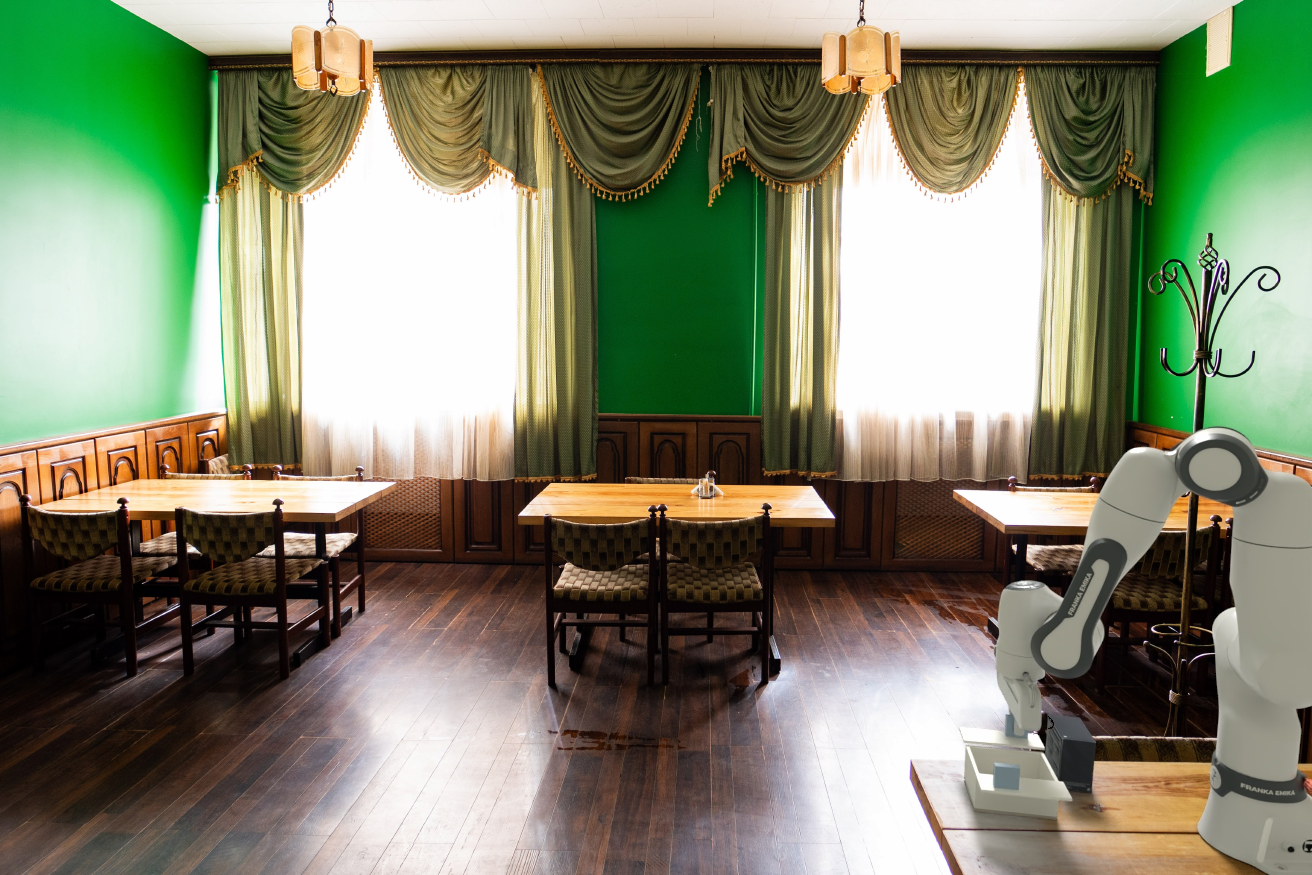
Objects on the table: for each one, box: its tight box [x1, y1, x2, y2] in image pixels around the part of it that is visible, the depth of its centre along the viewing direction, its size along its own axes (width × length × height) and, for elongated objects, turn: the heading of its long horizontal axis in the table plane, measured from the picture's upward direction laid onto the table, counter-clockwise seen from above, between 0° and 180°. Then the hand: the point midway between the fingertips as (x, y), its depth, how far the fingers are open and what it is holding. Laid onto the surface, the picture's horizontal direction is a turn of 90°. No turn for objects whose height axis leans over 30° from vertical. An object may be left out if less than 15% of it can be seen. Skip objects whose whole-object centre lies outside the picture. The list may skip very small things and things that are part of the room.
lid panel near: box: [975, 763, 1073, 802], centre depth 142 cm, size 15×5×4 cm, turn 79°
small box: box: [1044, 713, 1097, 794], centre depth 159 cm, size 11×6×10 cm, turn 168°
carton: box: [963, 744, 1060, 821], centre depth 152 cm, size 14×11×7 cm
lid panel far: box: [958, 713, 1046, 751], centre depth 159 cm, size 15×5×4 cm, turn 79°
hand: (1016, 730), depth 160 cm, fingers closed on lid panel far
